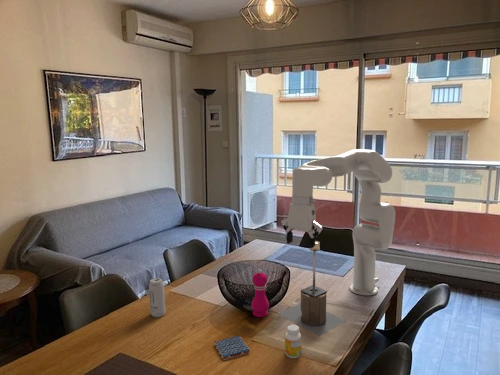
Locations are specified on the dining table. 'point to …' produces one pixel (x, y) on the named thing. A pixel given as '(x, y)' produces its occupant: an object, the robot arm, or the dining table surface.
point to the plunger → (314, 262)
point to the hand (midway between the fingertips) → (300, 245)
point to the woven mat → (232, 347)
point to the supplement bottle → (293, 341)
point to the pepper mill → (260, 295)
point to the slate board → (295, 316)
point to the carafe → (313, 306)
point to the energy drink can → (157, 297)
